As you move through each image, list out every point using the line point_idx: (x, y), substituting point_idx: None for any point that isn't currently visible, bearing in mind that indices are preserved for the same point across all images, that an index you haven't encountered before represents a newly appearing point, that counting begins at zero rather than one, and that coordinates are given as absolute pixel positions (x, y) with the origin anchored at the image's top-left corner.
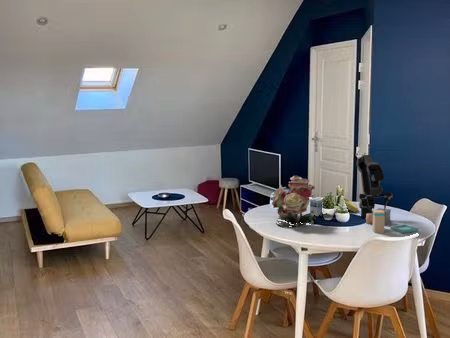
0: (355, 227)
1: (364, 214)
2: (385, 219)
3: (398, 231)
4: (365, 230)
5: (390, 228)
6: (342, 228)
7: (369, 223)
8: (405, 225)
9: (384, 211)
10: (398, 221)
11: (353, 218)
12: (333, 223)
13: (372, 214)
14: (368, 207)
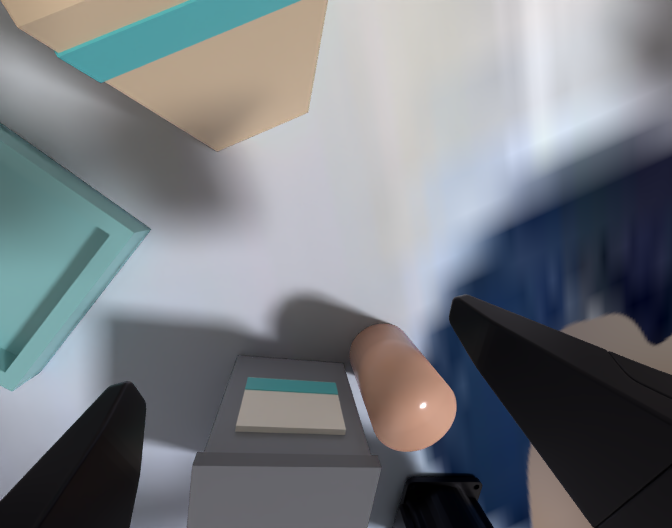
0: (475, 162)
1: (462, 511)
2: (228, 390)
3: (18, 138)
4: (371, 76)
5: (144, 227)
6: (580, 75)
7: (379, 327)
8: (8, 363)
9: (227, 488)
10: (170, 518)
11: (519, 440)
12: (652, 228)
13: (383, 406)
14: (503, 322)
